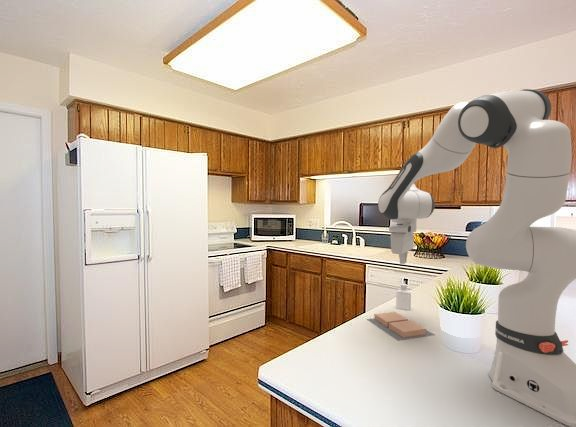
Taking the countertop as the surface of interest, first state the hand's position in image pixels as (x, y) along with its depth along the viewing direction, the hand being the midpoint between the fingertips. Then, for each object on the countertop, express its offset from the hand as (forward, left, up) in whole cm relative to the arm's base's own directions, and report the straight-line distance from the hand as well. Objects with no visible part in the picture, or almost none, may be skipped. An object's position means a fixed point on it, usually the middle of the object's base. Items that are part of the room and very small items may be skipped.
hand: (403, 263), depth 113 cm
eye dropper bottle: (+12, -10, -23) cm, 27 cm away
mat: (-4, +4, -22) cm, 23 cm away
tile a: (-8, 0, -21) cm, 23 cm away
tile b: (+1, 0, -21) cm, 21 cm away
